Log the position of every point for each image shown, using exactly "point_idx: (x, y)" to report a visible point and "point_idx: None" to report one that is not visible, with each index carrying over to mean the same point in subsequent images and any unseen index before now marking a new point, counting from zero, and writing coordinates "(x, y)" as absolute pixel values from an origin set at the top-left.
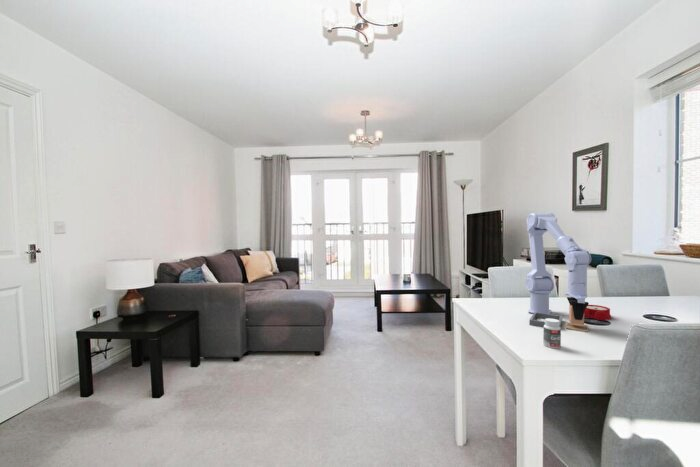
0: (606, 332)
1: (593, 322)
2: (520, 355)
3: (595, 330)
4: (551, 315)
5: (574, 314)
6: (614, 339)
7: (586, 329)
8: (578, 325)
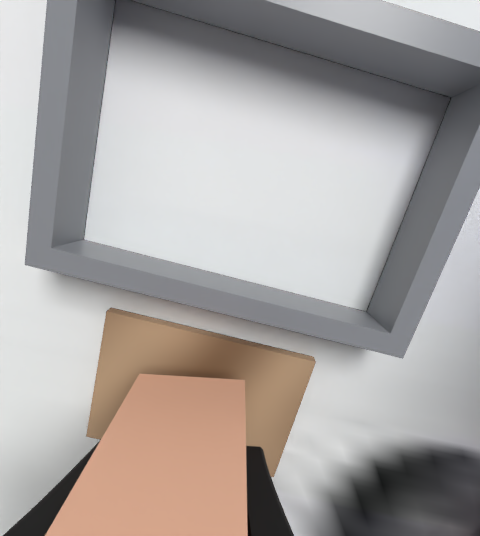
0: None
1: (390, 524)
2: None
3: None
4: (419, 254)
5: (56, 487)
6: (5, 526)
7: None
8: None
